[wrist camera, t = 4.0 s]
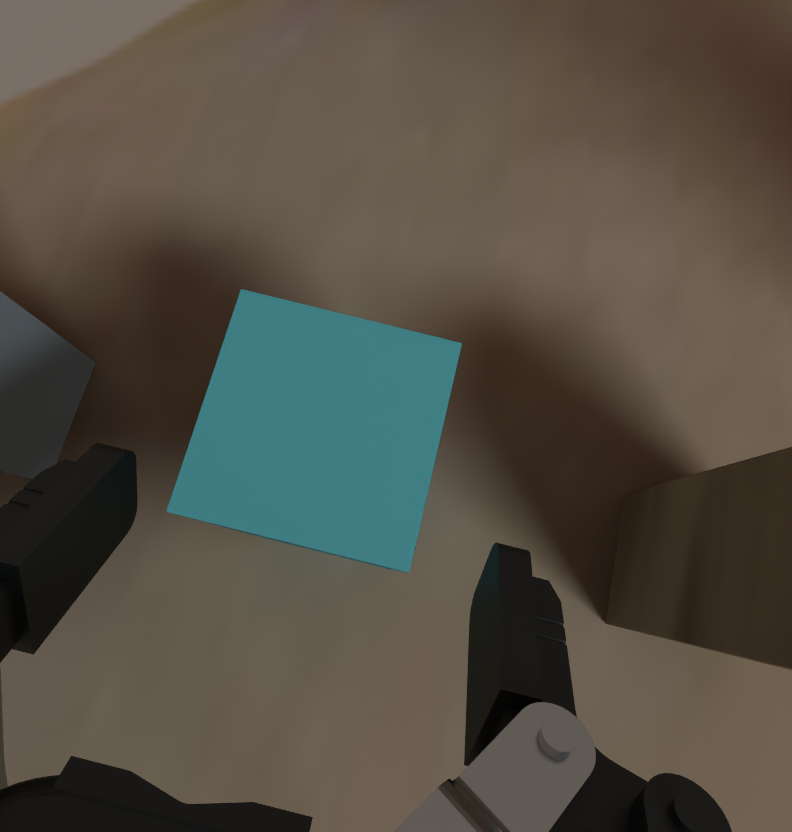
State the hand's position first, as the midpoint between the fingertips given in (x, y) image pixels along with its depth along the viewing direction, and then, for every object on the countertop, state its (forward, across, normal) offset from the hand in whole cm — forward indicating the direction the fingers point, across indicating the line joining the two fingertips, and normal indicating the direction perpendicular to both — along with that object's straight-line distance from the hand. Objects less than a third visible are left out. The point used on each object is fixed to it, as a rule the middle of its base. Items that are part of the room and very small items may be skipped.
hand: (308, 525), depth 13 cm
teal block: (+7, 0, +4) cm, 8 cm away
